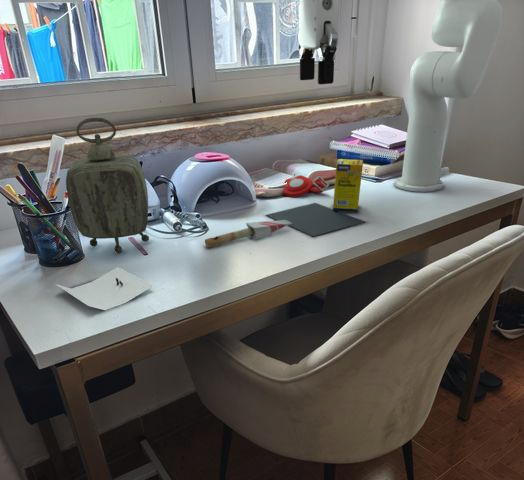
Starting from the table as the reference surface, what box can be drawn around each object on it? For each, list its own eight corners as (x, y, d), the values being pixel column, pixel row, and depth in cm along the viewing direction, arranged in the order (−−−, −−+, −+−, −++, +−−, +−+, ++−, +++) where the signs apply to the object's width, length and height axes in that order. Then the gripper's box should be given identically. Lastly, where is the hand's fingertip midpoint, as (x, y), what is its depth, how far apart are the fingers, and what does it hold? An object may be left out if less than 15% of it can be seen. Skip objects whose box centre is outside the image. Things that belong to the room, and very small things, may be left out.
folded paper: (154, 291, 86) (152, 281, 85) (90, 316, 79) (88, 305, 78) (118, 272, 94) (116, 262, 93) (57, 293, 87) (54, 283, 86)
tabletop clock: (154, 238, 108) (135, 112, 94) (154, 254, 100) (133, 119, 87) (86, 244, 106) (56, 116, 92) (80, 261, 99) (47, 124, 85)
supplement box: (357, 213, 118) (362, 164, 112) (332, 211, 119) (335, 163, 113) (358, 206, 123) (363, 159, 117) (334, 204, 124) (337, 158, 118)
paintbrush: (293, 217, 107) (209, 240, 100) (294, 229, 109) (211, 252, 102) (284, 212, 110) (201, 234, 103) (284, 224, 112) (203, 246, 104)
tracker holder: (284, 194, 129) (276, 176, 135) (287, 209, 132) (279, 190, 139) (329, 180, 128) (319, 162, 135) (331, 195, 132) (321, 177, 138)
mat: (315, 203, 125) (315, 202, 125) (365, 222, 113) (365, 221, 113) (266, 215, 119) (266, 214, 118) (313, 237, 106) (313, 236, 106)
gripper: (356, -25, 88) (350, 84, 97) (318, -18, 102) (316, 77, 111) (317, -24, 86) (315, 87, 96) (283, -17, 100) (284, 79, 109)
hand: (315, 81), depth 103 cm, fingers open, 9 cm apart
